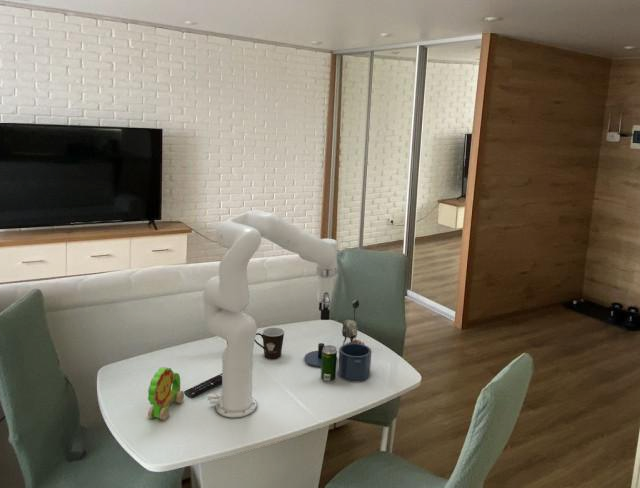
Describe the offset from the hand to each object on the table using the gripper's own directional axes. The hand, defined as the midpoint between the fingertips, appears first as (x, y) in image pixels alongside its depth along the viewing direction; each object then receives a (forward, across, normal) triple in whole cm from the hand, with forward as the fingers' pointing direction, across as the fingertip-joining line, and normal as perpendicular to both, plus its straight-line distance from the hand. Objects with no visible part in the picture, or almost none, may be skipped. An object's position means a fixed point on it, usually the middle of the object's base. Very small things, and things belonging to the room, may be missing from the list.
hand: (323, 314), depth 200 cm
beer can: (+20, +12, +2) cm, 23 cm away
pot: (+20, +8, +12) cm, 24 cm away
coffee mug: (+20, -8, -20) cm, 30 cm away
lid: (+19, -3, 0) cm, 19 cm away
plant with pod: (+20, -15, +14) cm, 29 cm away
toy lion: (+21, +31, -52) cm, 64 cm away
